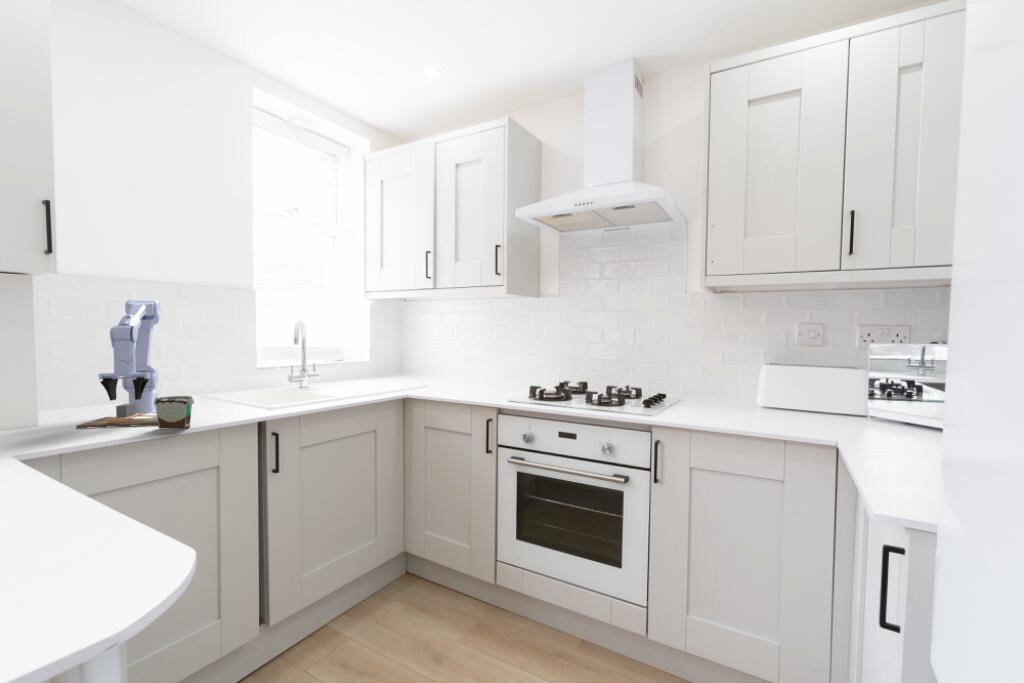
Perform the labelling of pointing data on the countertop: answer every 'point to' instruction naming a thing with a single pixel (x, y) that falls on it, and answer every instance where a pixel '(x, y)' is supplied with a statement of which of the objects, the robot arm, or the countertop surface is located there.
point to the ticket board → (137, 420)
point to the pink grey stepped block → (124, 413)
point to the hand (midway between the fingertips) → (125, 399)
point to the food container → (174, 411)
